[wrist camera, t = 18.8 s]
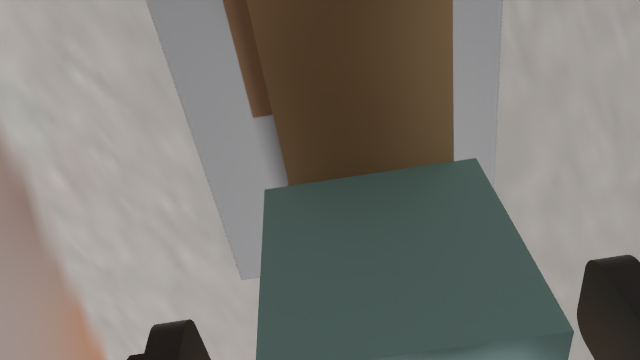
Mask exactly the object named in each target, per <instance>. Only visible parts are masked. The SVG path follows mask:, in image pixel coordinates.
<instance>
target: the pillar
mask: <svg viewBox="0 0 640 360" xmlns="http://www.w3.org/2000/svg"><path fill="white" fill-rule="evenodd" d="M223 4H224V8H225V12H226V16H227V19H228V23H229V27H230V31H231V35H232V39H233V43H234V47H235V50H236V54H237V58H238V62H239V66H240V70H241V74H242V77H243V81H244V85H245V89H246V93H247V97H248V101H249V104H250V108H251V112H252V116H253V118H258V117H264V116H270V115H273V113H272V109H271V104H270V100H269V96H268V92H267V87H266V83H265V79H264V74H263V70H262V66H261V61H260V57H259V53H258V48H257V44H256V40H255V36H254V31H253V27H252V23H251V18H250V14H249V10H248V5H247V1H246V0H223Z"/></svg>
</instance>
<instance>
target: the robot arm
mask: <svg viewBox="0 0 640 360" xmlns="http://www.w3.org/2000/svg"><path fill="white" fill-rule="evenodd" d="M577 319H578V325H579V329H580V332H581V335H582V337H583V339H584V341H585V343H586V345H587V347H588V349H589V350H590V352H591V354H592V356H593V357H594V359H595V360H640V262H639V261H638V260H637V259H636V258H635V257H633V256H631V255H623V256H616V257H610V258H603V259H597V260H590V261H589V262H588V263H587V264H586V267H585V272H584V278H583V283H582V288H581V293H580V298H579V303H578V309H577ZM127 360H211V359H210V357H209V355H208V352H207V350H206V348H205V346H204V343H203V341H202V339H201V337H200V335H199V332H198V330H197V328H196V326H195V324H194V322H193V321H192V320H190V319H189V320H183V321H176V322H170V323H163V324H156V325H154V326H153V327H152V328H151V331H150V334H149V337H148V341H147V345H146V349H145V353H144V354H137V355H131V356H129V358H128V359H127Z"/></svg>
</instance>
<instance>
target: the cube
mask: <svg viewBox="0 0 640 360" xmlns="http://www.w3.org/2000/svg"><path fill="white" fill-rule="evenodd" d="M573 333H574V331H573V329H572V327H571V325H570V323H569V322H568V320H567V318H566V316H565V315H564V313H563V311H562V309H561V308H560V306H559V304H558V302H557V300H556V299H555V297H554V295H553V293H552V292H551V290H550V288H549V286H548V284H547V283H546V281H545V279H544V277H543V276H542V274H541V272H540V270H539V269H538V267H537V265H536V263H535V261H534V260H533V258H532V256H531V254H530V253H529V251H528V249H527V247H526V246H525V244H524V242H523V240H522V238H521V237H520V235H519V233H518V231H517V230H516V228H515V226H514V224H513V222H512V221H511V219H510V217H509V215H508V214H507V212H506V210H505V208H504V207H503V205H502V203H501V201H500V199H499V198H498V196H497V194H496V192H495V191H494V189H493V187H492V185H491V184H490V182H489V180H488V178H487V176H486V175H485V173H484V171H483V169H482V168H481V166H480V164H479V162H478V161H477V159H476V158H472V159H466V160H459V161H452V162H446V163H439V164H432V165H426V166H419V167H412V168H406V169H399V170H392V171H386V172H379V173H372V174H366V175H359V176H352V177H345V178H339V179H332V180H325V181H319V182H312V183H305V184H299V185H292V186H285V187H279V188H272V189H265V191H264V211H263V231H262V251H261V271H260V290H259V310H258V330H257V350H256V360H568V357H569V352H570V347H571V343H572V338H573Z"/></svg>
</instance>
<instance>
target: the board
mask: <svg viewBox="0 0 640 360" xmlns="http://www.w3.org/2000/svg"><path fill="white" fill-rule="evenodd" d="M146 2H147V5H148V8H149V11H150V14H151V17H152V20H153V23H154V25H155V28H156V31H157V34H158V37H159V40H160V43H161V46H162V49H163V52H164V55H165V58H166V61H167V63H168V66H169V69H170V72H171V75H172V78H173V81H174V84H175V87H176V90H177V93H178V96H179V98H180V101H181V104H182V107H183V110H184V113H185V116H186V119H187V122H188V125H189V128H190V131H191V133H192V136H193V139H194V142H195V145H196V148H197V151H198V154H199V157H200V160H201V163H202V166H203V169H204V171H205V174H206V177H207V180H208V183H209V186H210V189H211V192H212V195H213V198H214V201H215V204H216V206H217V209H218V212H219V215H220V218H221V221H222V224H223V227H224V230H225V233H226V236H227V239H228V242H229V244H230V247H231V250H232V253H233V256H234V259H235V262H236V265H237V268H238V271H239V274H240V277H241V279H242V280H246V279H253V278H259V277H260V271H261V251H262V231H263V211H264V191H265V189H272V188H279V187H285V186H288V178H287V173H286V169H285V165H284V161H283V156H282V152H281V148H280V143H279V139H278V135H277V130H276V126H275V122H274V117H273V115H270V116H264V117H258V118H253V116H252V112H251V108H250V104H249V101H248V97H247V93H246V89H245V85H244V81H243V77H242V74H241V70H240V66H239V62H238V58H237V54H236V50H235V47H234V43H233V39H232V35H231V31H230V27H229V23H228V19H227V16H226V12H225V8H224V4H223V0H146ZM502 5H503V0H453V104H454V161H459V160H466V159H472V158H476V159H477V161H478V162H479V164H480V166H481V168H482V169H483V171H484V173H485V175H486V176H487V178H488V180H489V182H490V184H491V185H492V187H493V189H494V177H495V155H496V134H497V112H498V91H499V69H500V48H501V27H502Z"/></svg>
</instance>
